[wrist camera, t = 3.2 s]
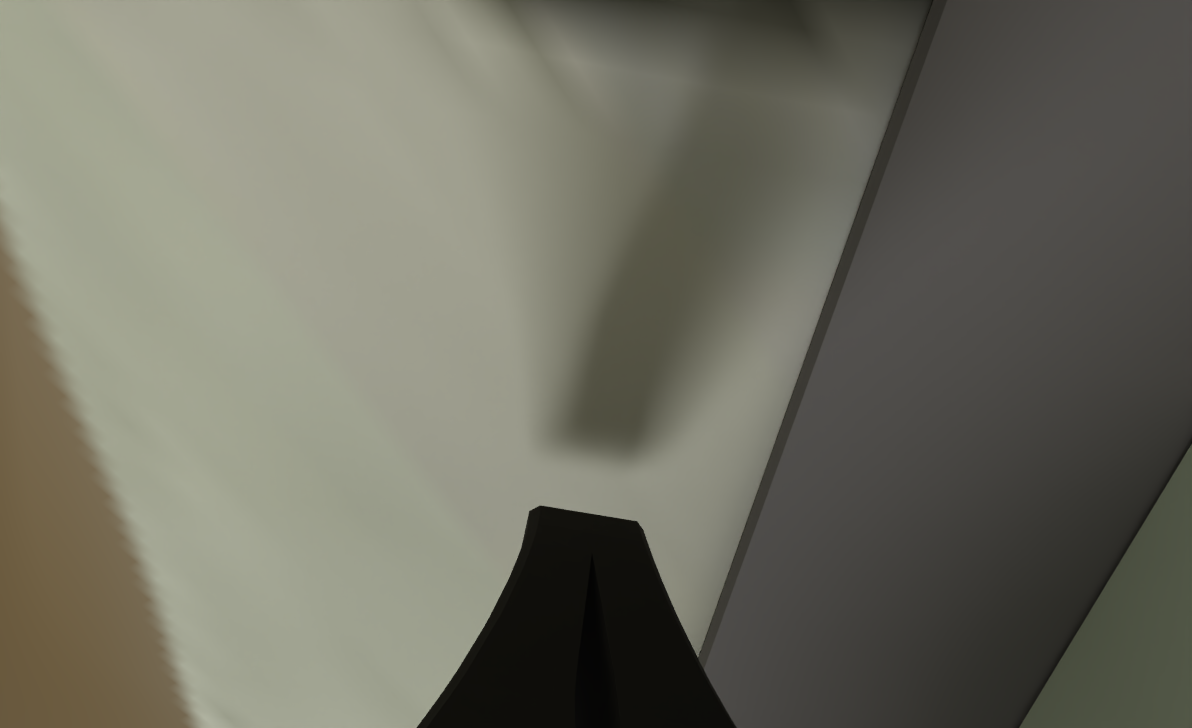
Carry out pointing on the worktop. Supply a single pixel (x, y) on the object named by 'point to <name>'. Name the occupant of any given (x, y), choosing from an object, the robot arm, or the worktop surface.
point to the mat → (979, 380)
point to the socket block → (1134, 633)
